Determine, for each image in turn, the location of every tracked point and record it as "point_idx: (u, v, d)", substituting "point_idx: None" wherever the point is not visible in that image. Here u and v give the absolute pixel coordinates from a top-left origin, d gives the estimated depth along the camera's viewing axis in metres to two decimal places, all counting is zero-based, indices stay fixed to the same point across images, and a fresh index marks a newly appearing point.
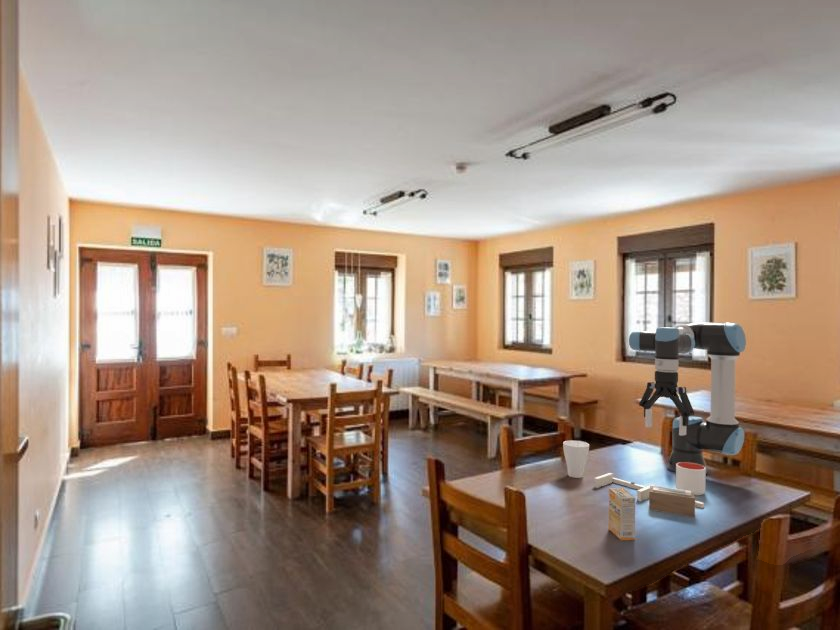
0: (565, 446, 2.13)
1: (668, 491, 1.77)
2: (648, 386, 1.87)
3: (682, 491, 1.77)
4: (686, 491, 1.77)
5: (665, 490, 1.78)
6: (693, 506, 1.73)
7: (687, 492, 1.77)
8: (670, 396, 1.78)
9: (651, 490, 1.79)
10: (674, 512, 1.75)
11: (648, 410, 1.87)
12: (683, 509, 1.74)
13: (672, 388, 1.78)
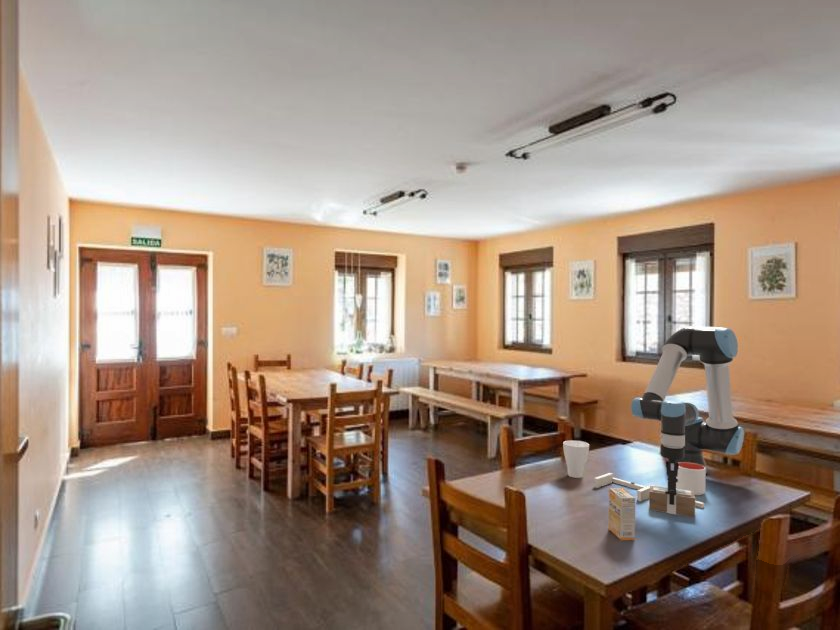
0: (565, 446, 2.13)
1: None
2: (668, 458, 1.85)
3: (682, 491, 1.77)
4: (686, 491, 1.77)
5: (665, 490, 1.78)
6: (693, 506, 1.73)
7: (687, 492, 1.77)
8: None
9: (651, 490, 1.79)
10: None
11: None
12: (683, 509, 1.74)
13: (668, 464, 1.76)
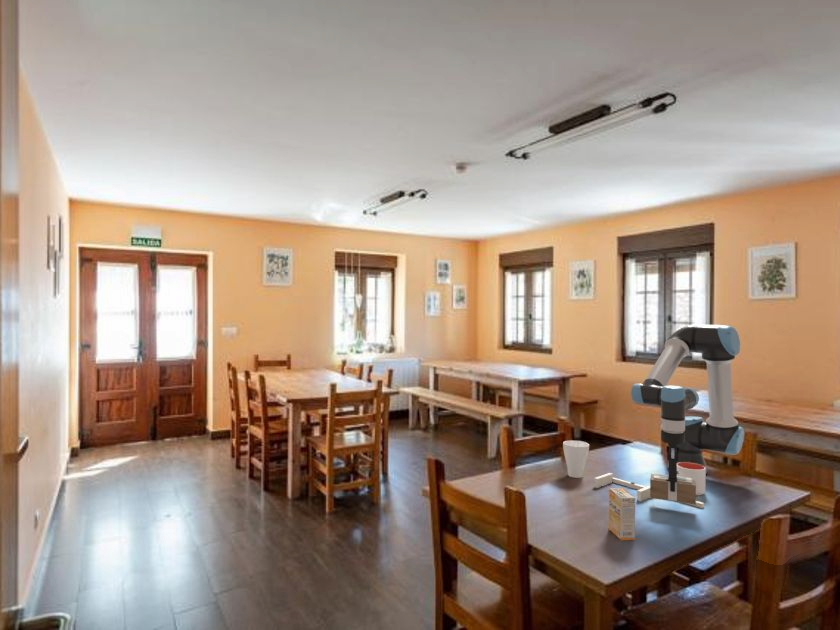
0: (565, 446, 2.13)
1: None
2: None
3: (683, 478, 1.77)
4: (687, 478, 1.78)
5: (666, 478, 1.78)
6: (694, 493, 1.73)
7: (688, 479, 1.77)
8: (667, 457, 1.77)
9: (652, 478, 1.80)
10: None
11: None
12: (684, 497, 1.74)
13: (669, 449, 1.76)
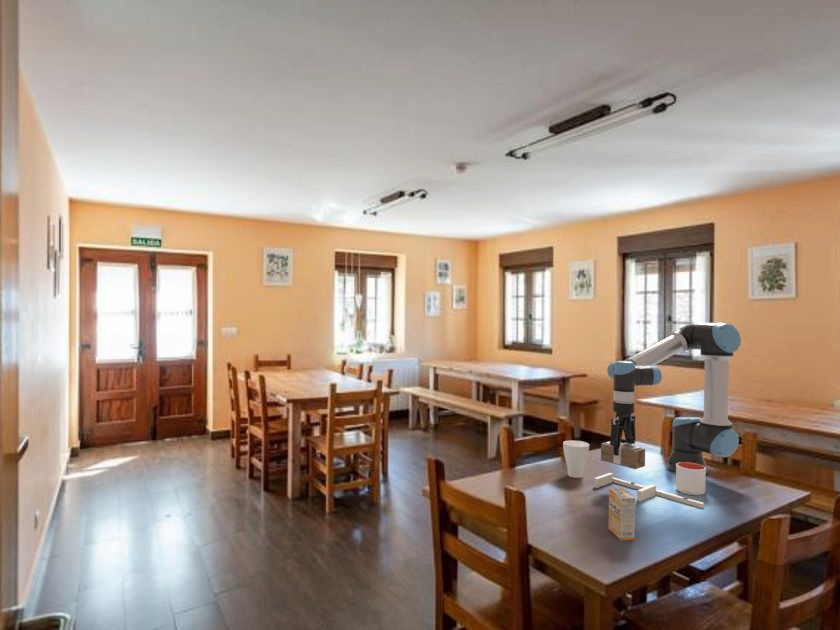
0: (565, 446, 2.13)
1: None
2: None
3: (631, 446, 1.93)
4: (635, 447, 1.93)
5: None
6: (634, 458, 1.89)
7: (635, 447, 1.92)
8: None
9: (604, 443, 2.00)
10: None
11: None
12: (626, 461, 1.91)
13: None
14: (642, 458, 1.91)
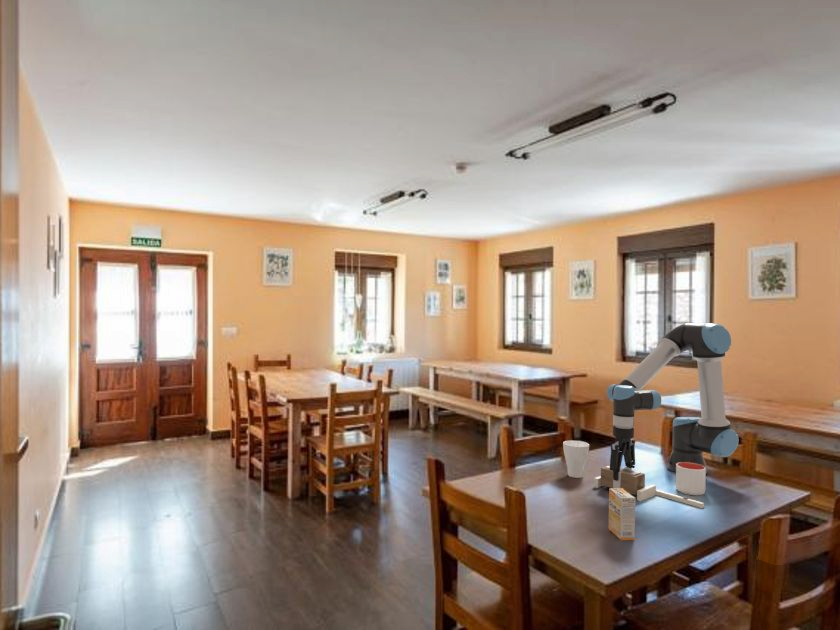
0: (565, 446, 2.13)
1: None
2: None
3: (630, 471, 1.93)
4: (635, 471, 1.93)
5: None
6: (634, 484, 1.89)
7: (634, 472, 1.92)
8: None
9: (604, 467, 2.00)
10: None
11: None
12: (626, 486, 1.91)
13: None
14: (642, 483, 1.92)
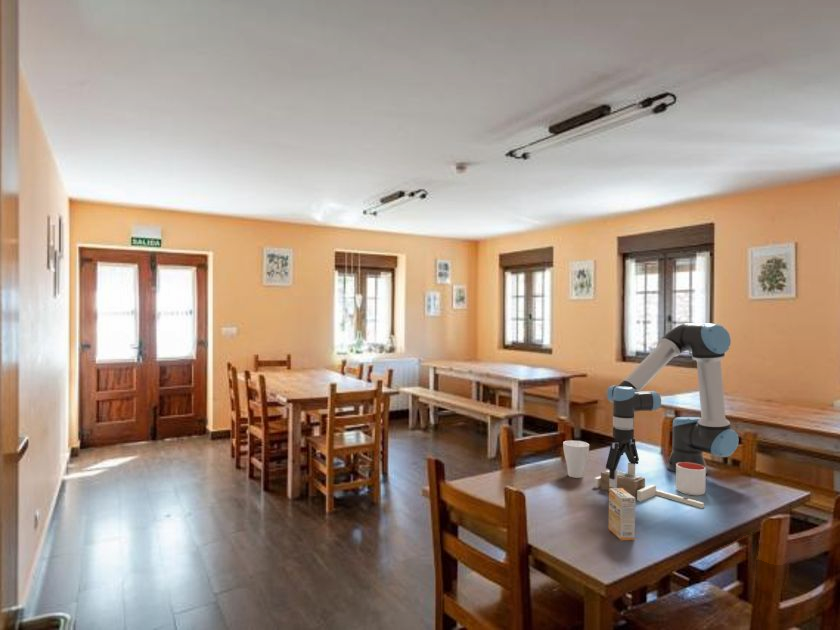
0: (565, 446, 2.13)
1: (617, 474, 1.96)
2: None
3: (630, 475, 1.93)
4: (635, 476, 1.93)
5: None
6: (634, 489, 1.89)
7: (634, 477, 1.92)
8: None
9: (604, 472, 2.00)
10: None
11: (629, 464, 2.00)
12: None
13: None
14: None
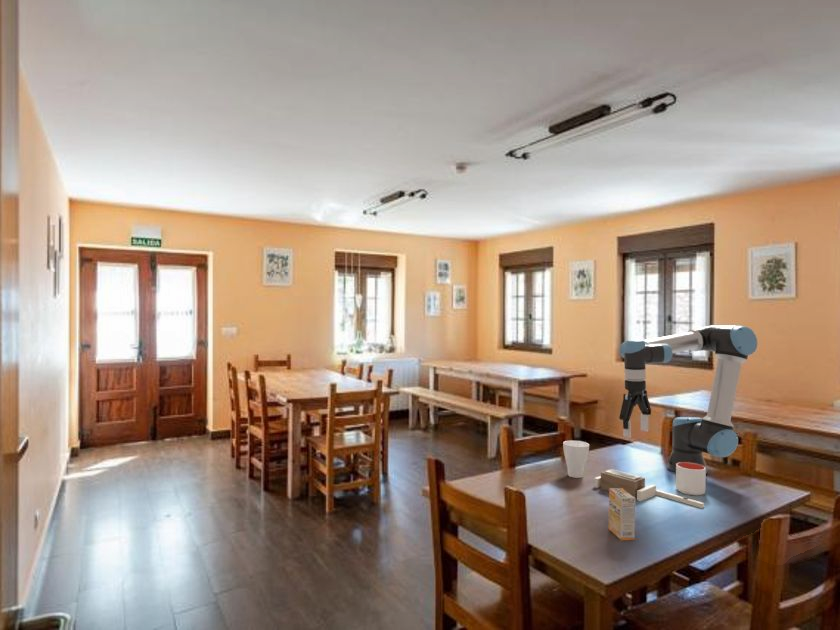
0: (565, 446, 2.13)
1: (617, 474, 1.96)
2: None
3: (630, 475, 1.93)
4: (635, 476, 1.93)
5: (615, 473, 1.97)
6: (634, 489, 1.89)
7: (634, 477, 1.92)
8: None
9: (604, 472, 2.00)
10: None
11: (642, 415, 2.05)
12: None
13: None
14: None
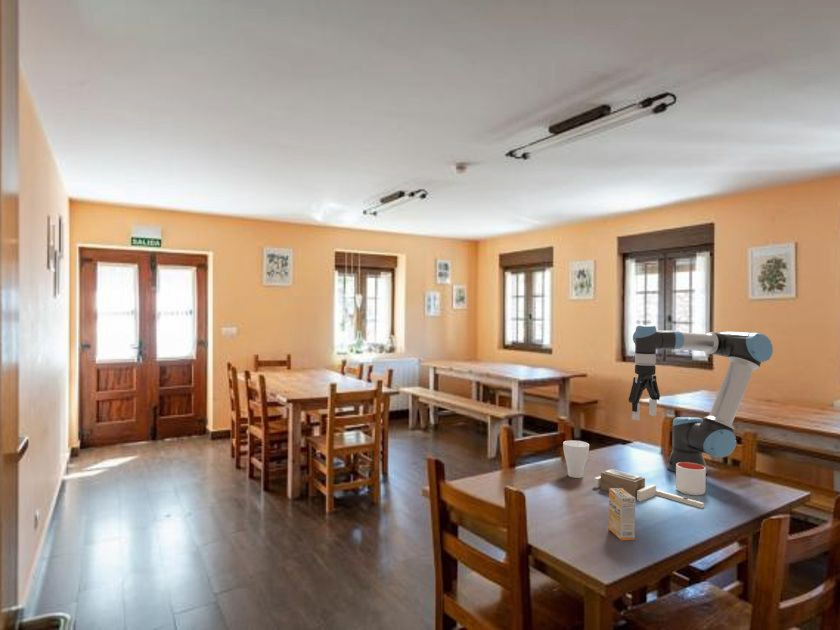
0: (565, 446, 2.13)
1: (617, 474, 1.96)
2: None
3: (630, 475, 1.93)
4: (635, 476, 1.93)
5: (615, 473, 1.97)
6: (634, 489, 1.89)
7: (634, 477, 1.92)
8: None
9: (604, 472, 2.00)
10: None
11: (650, 400, 2.08)
12: None
13: None
14: None
